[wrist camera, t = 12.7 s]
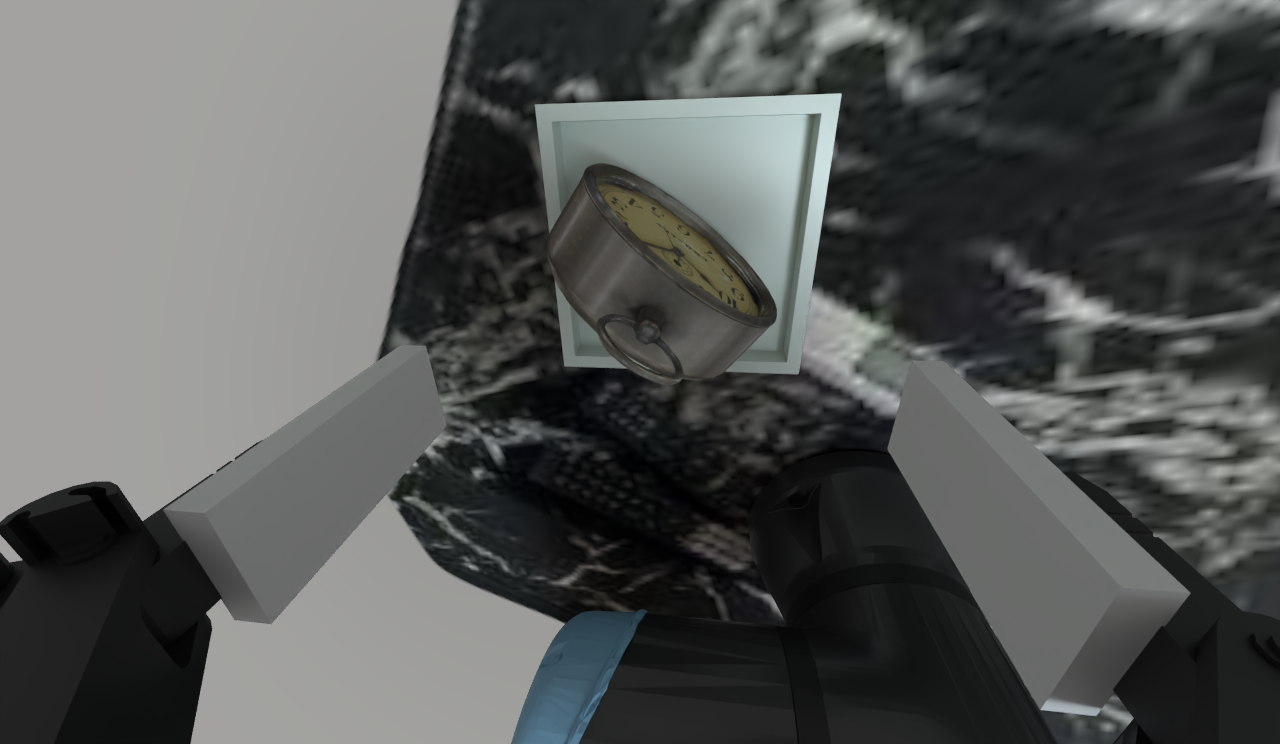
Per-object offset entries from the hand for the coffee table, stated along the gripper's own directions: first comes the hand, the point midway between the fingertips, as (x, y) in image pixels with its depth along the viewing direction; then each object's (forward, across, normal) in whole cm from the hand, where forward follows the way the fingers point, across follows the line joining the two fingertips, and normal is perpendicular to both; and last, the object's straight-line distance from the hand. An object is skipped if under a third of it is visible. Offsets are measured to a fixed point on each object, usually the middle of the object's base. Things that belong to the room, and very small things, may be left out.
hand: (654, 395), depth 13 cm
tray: (+18, 0, 0) cm, 18 cm away
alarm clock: (+18, +1, 0) cm, 18 cm away
